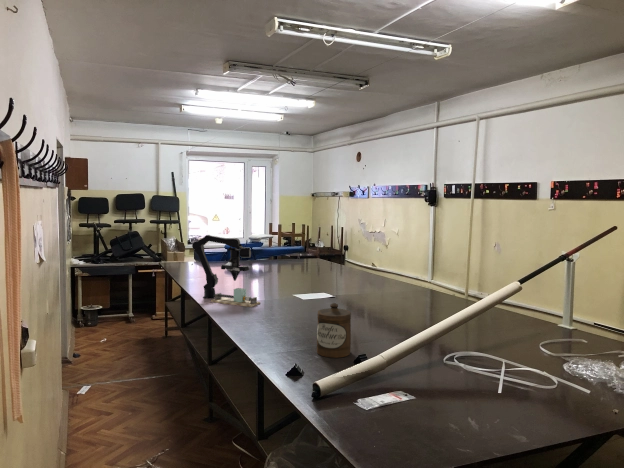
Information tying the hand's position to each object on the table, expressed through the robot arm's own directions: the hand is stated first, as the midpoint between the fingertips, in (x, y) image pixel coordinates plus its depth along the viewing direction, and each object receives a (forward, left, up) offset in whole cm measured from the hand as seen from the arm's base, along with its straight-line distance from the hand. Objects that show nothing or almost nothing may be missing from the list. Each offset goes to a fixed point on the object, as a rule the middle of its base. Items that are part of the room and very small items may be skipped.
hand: (234, 280), depth 318 cm
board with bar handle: (+8, -11, -12) cm, 18 cm away
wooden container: (+101, -74, -12) cm, 126 cm away
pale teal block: (+11, -11, -11) cm, 19 cm away
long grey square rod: (+8, -11, -10) cm, 17 cm away
